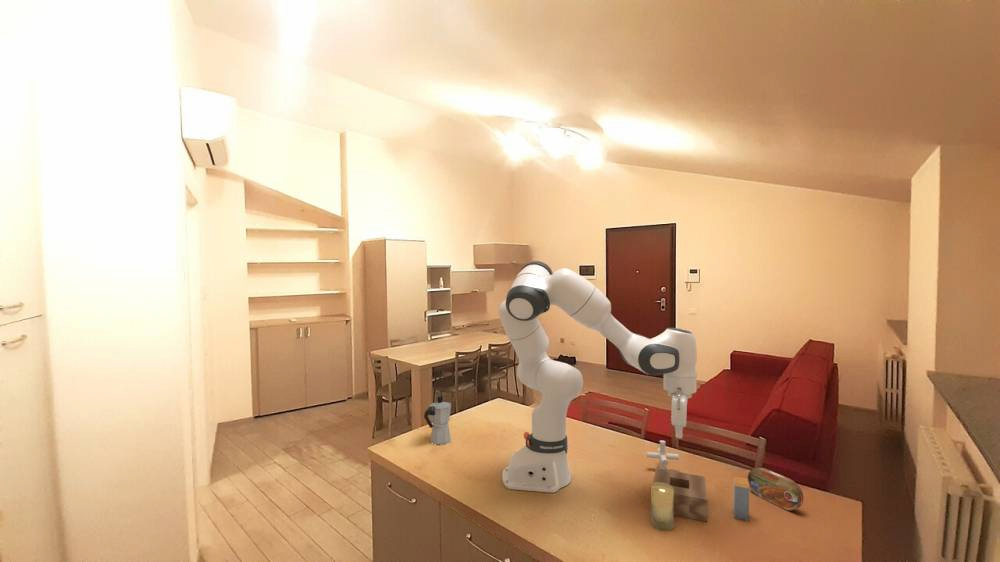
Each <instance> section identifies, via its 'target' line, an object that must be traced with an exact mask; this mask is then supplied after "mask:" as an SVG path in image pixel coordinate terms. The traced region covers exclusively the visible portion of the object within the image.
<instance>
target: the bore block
mask: <svg viewBox="0 0 1000 562" xmlns="http://www.w3.org/2000/svg"><path fill="white" fill-rule="evenodd" d="M706 478H707V476H704V475H697V474H691V473H687V472H682V471H681V472H680V471H674V470H671V469H670V470H668V469H665V470H664V469H660V468H657V467H656V468H655V471H654V477H653V481H652V482H653V483H655V482H663V483H667V484H669V485H671V486H672V487H673V488H674V516H677V517H683V518H686V519H692V520H696V521H701V522H705V521H707V522H708V493H707V480H706ZM653 483H652V484H653Z"/></svg>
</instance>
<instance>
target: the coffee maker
mask: <svg viewBox="0 0 1000 562" xmlns="http://www.w3.org/2000/svg"><path fill="white" fill-rule="evenodd" d="M443 398H444V396H443V395H438V396H437V397H436V399H437V402H432V403H431V404H430V405H428V408H427V409H425V411H424V415H423V417H424V419H425V421H426V423H427V425H428V426H429V428H430V429H431V433H430V440H431V443H433V444H432V445H434V444H436V445H435V446H438V445H437V444H446V443H448V442H450V441H451V442H452V439H451V432H450V425H449V421H450V419H451V410H452V402H447V401H446V402H445V401H443V400H444V399H443ZM429 416H430V418H429ZM451 442H450V443H451ZM431 443H430V444H431ZM448 444H449V443H448ZM446 445H447V444H446Z"/></svg>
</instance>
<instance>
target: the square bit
mask: <svg viewBox="0 0 1000 562" xmlns="http://www.w3.org/2000/svg"><path fill="white" fill-rule="evenodd" d="M732 506H733V511H732V512H733V516H734V517H733V519H736V518H737V520H741V521H747V522H750V486H749V481H748V478H744V477H739V476H733V505H732Z"/></svg>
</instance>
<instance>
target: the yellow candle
mask: <svg viewBox="0 0 1000 562" xmlns="http://www.w3.org/2000/svg"><path fill="white" fill-rule="evenodd" d="M650 488H651V489H650V491H651V492H650V498H651V499H650V500H651V501H650V505H651V506H650V516H651V517H650V518H651V519H650V520H651V521H650V523H651V525H652V527H654V528H655V529H657V530H660V531H671V530H673V529H674V528H675V527H674V526H675V523H674V516H675V515H674V488H673V487H672V486H671V485H669V484H667V483H663V482H655V483H651V486H650Z"/></svg>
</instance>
